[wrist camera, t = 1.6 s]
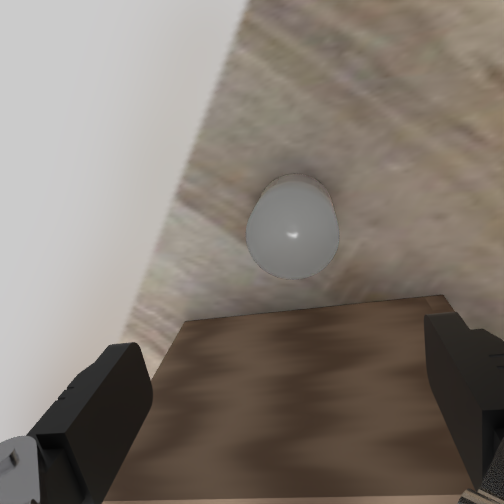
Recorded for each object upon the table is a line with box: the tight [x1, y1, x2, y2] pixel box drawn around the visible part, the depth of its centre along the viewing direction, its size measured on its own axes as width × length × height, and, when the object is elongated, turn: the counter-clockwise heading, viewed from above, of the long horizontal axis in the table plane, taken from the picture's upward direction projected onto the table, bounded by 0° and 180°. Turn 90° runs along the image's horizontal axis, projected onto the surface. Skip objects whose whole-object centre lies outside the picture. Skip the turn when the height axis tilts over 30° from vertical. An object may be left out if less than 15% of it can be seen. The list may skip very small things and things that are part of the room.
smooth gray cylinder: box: [246, 174, 339, 280], centre depth 24 cm, size 5×5×6 cm
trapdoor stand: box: [102, 295, 475, 504], centre depth 25 cm, size 18×18×15 cm
